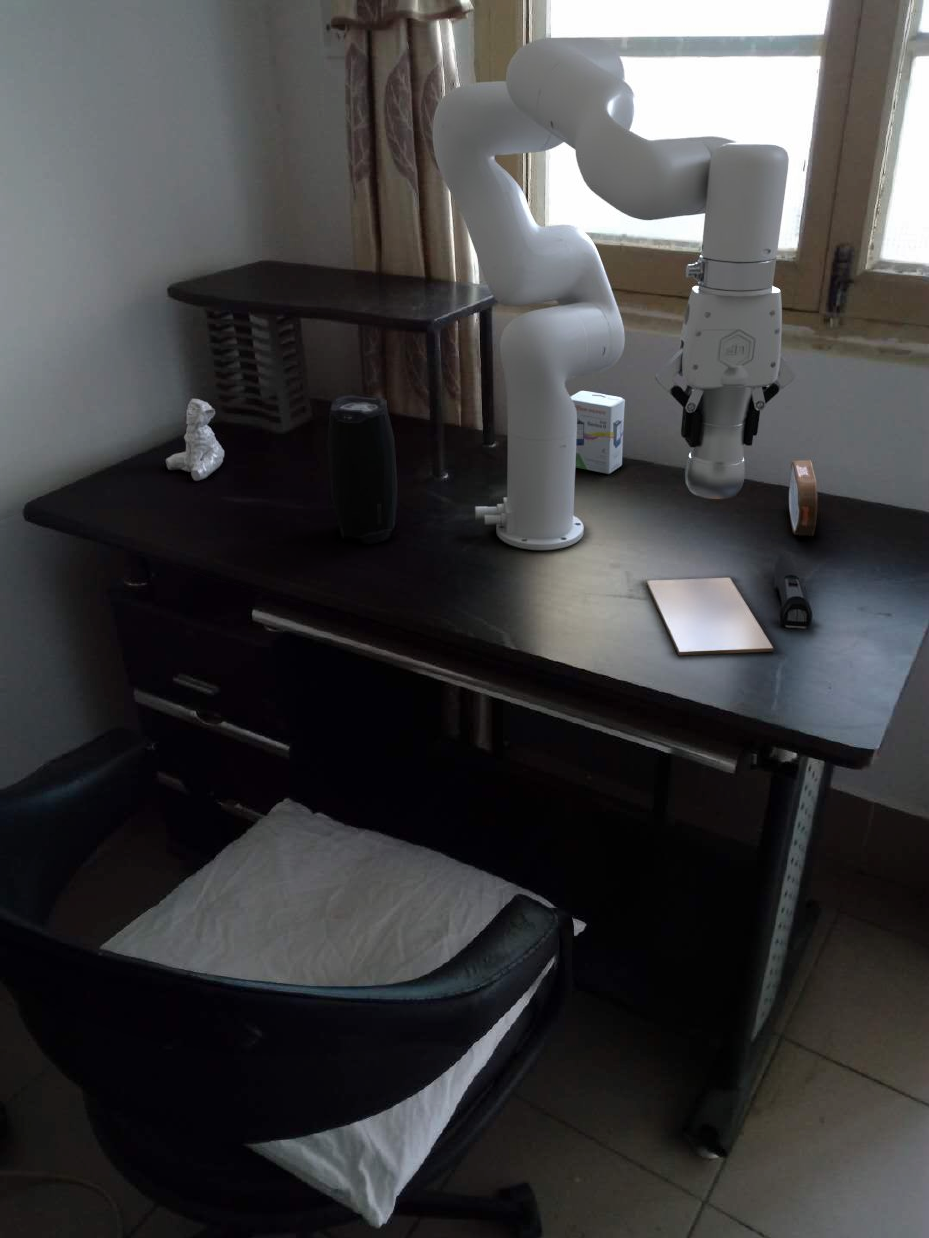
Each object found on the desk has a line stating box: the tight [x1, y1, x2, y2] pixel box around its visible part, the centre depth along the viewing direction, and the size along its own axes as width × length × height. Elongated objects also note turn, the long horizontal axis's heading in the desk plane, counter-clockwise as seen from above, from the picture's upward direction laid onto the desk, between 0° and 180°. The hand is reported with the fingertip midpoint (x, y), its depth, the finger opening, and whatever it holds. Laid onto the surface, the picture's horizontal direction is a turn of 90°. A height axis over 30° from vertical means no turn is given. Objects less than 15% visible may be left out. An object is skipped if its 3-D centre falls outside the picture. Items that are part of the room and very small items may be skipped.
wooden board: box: [646, 577, 774, 656], centre depth 124 cm, size 11×18×1 cm, turn 3°
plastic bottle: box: [684, 364, 753, 500], centre depth 111 cm, size 6×7×20 cm
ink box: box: [570, 390, 626, 475], centre depth 166 cm, size 9×5×12 cm, turn 55°
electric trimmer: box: [773, 551, 813, 629], centre depth 127 cm, size 4×16×3 cm, turn 170°
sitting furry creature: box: [165, 398, 225, 482], centre depth 168 cm, size 10×9×12 cm
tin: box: [788, 459, 818, 537], centre depth 146 cm, size 15×3×8 cm, turn 168°
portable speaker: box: [327, 394, 398, 545], centre depth 142 cm, size 9×9×20 cm
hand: (718, 441), depth 113 cm, fingers closed on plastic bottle, 5 cm apart
